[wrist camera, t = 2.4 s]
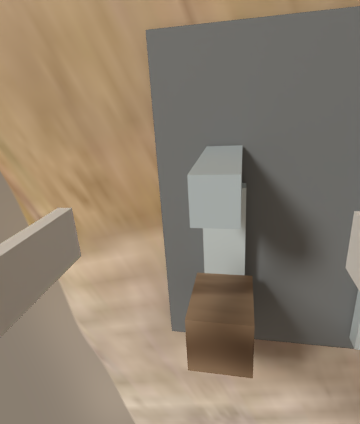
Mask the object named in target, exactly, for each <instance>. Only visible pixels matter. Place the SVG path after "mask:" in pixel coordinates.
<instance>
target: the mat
mask: <svg viewBox="0 0 360 424" xmlns="http://www.w3.org/2000/svg"><path fill="white" fill-rule="evenodd" d="M146 40H147V51H148V62H149V74H150V85H151V97H152V108H153V119H154V131H155V142H156V153H157V165H158V176H159V188H160V199H161V210H162V222H163V233H164V245H165V256H166V267H167V279H168V290H169V301H170V313H171V324H172V331H179V332H186V330H185V317H186V313H187V310H188V306H189V302H190V298H191V294H192V290H193V287H194V283H195V279H196V275H197V273H204V247H203V228H190V218H189V199H188V179H187V175H188V173H189V172H190V170H191V169H192V167H193V166H194V164H195V163H196V161H197V160H198V158H199V157H200V155H201V154H202V153H203V151H204V150H205V148H206V147H207V146H235V145H243V146H242V183H246V234H245V275H247V276H252V278H253V301H254V325H255V328H254V339H260V340H270V341H280V342H291V343H301V344H311V345H321V346H331V347H341V348H352V349H354V347H353V345H352V342H351V340H350V338H349V337H350V331H351V326H352V320H353V315H354V310H355V304H356V299H357V293H358V288H357V286H356V285H355V283H354V281H353V280H352V278H351V276H350V275H349V273H348V271H347V269H346V268H345V267H346V261H347V254H348V248H349V242H350V235H351V229H352V222H353V216H354V211H360V6H357V7H348V8H339V9H330V10H321V11H312V12H303V13H294V14H285V15H276V16H267V17H258V18H249V19H240V20H231V21H222V22H213V23H204V24H195V25H186V26H177V27H168V28H159V29H150V30H146Z"/></svg>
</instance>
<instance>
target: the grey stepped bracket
mask: <svg viewBox="0 0 360 424" xmlns="http://www.w3.org/2000/svg"><path fill="white" fill-rule="evenodd" d="M242 146H243V145H235V146H207V147H206V148H205V150H204V151H203V153H202V154H201V155H200V157H199V158H198V160H197V161H196V163H195V164H194V166H193V167H192V169H191V170H190V172H189V173H188V175H187V179H188V199H189V218H190V228H203V247H204V273H212V274H230V275H245V234H246V183H242Z"/></svg>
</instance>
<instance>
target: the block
mask: <svg viewBox="0 0 360 424" xmlns="http://www.w3.org/2000/svg"><path fill="white" fill-rule="evenodd" d="M254 328H255V325H254V301H253V278H252V276H247V275H230V274H212V273H197V275H196V279H195V283H194V287H193V290H192V294H191V298H190V302H189V306H188V310H187V313H186V317H185V330H186V345H187V360H188V370H191V371H199V372H207V373H215V374H223V375H231V376H239V377H247V378H253V355H254Z"/></svg>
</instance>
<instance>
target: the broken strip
mask: <svg viewBox="0 0 360 424" xmlns="http://www.w3.org/2000/svg"><path fill="white" fill-rule="evenodd" d="M349 338H350V340H351V342H352V345H353V347H354V349H357V350H360V291H359V290H358V293H357V299H356V304H355V310H354V315H353V320H352V326H351V331H350V337H349Z"/></svg>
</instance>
